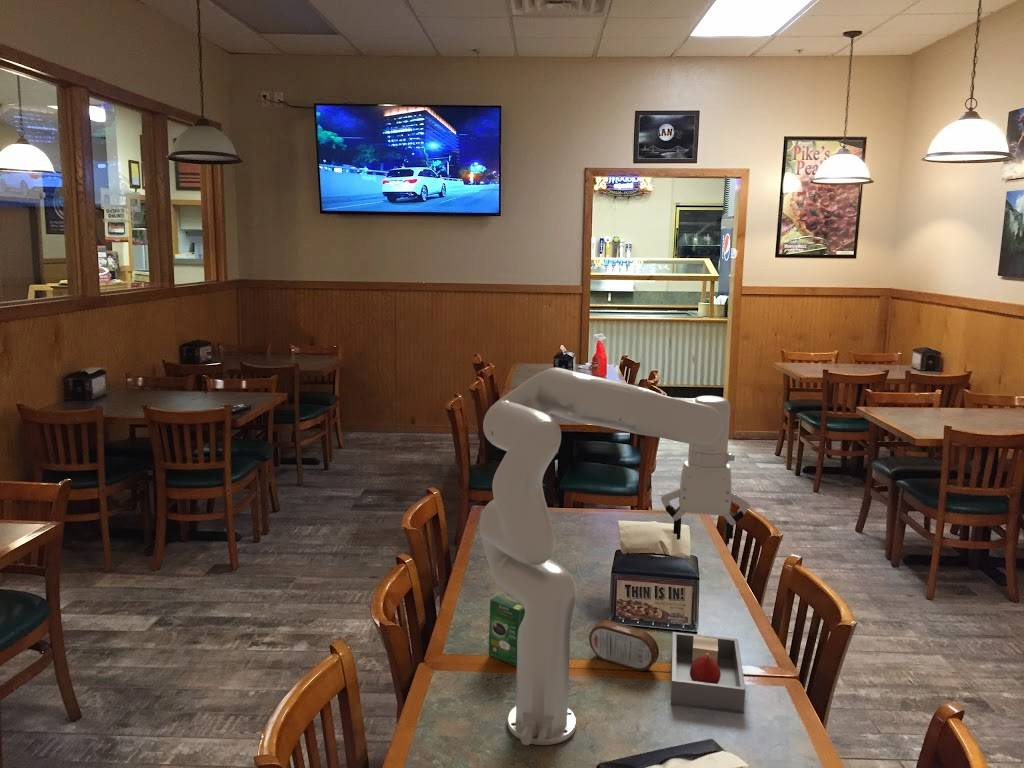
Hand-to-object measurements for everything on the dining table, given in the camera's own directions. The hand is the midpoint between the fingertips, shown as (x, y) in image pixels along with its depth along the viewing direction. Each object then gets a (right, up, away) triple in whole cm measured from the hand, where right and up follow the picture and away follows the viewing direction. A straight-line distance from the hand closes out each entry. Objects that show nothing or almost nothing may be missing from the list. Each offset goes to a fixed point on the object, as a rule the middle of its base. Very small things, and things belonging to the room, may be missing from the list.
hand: (702, 539), depth 162 cm
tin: (-15, -28, +6) cm, 32 cm away
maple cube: (+2, -27, +5) cm, 28 cm away
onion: (-1, -29, -4) cm, 30 cm away
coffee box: (-40, -27, +7) cm, 49 cm away
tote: (+1, -29, 0) cm, 29 cm away
